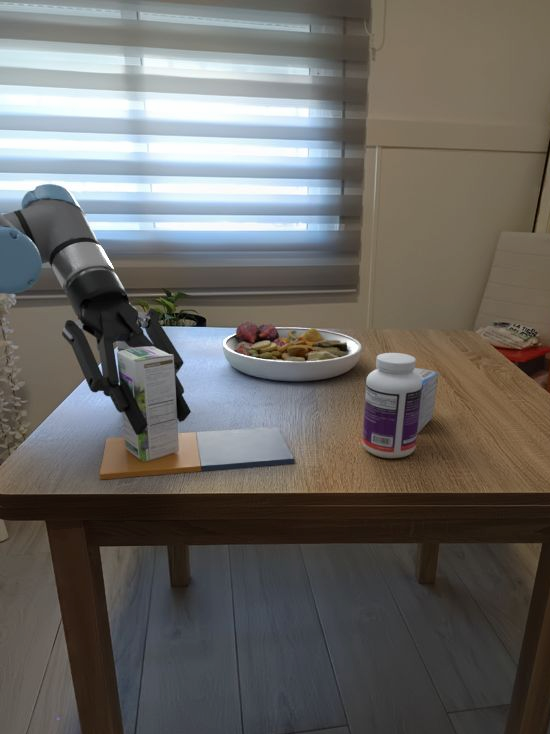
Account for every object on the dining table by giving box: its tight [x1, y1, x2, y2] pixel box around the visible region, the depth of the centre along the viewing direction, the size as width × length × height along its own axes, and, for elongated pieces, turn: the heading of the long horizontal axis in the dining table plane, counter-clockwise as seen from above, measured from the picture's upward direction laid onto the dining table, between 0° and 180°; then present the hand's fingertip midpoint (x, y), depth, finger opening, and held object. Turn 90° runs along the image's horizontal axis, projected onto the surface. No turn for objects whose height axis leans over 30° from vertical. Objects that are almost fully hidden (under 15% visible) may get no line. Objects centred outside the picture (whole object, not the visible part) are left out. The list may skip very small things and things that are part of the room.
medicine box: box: [413, 367, 439, 435], centre depth 95 cm, size 8×4×9 cm, turn 152°
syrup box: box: [116, 346, 179, 462], centre depth 79 cm, size 6×6×14 cm
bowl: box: [222, 321, 362, 382], centre depth 125 cm, size 30×30×8 cm
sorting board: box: [99, 426, 295, 481], centre depth 83 cm, size 26×12×1 cm, turn 105°
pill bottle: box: [362, 352, 422, 459], centre depth 84 cm, size 8×8×14 cm
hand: (164, 422), depth 77 cm, fingers closed on syrup box, 6 cm apart
